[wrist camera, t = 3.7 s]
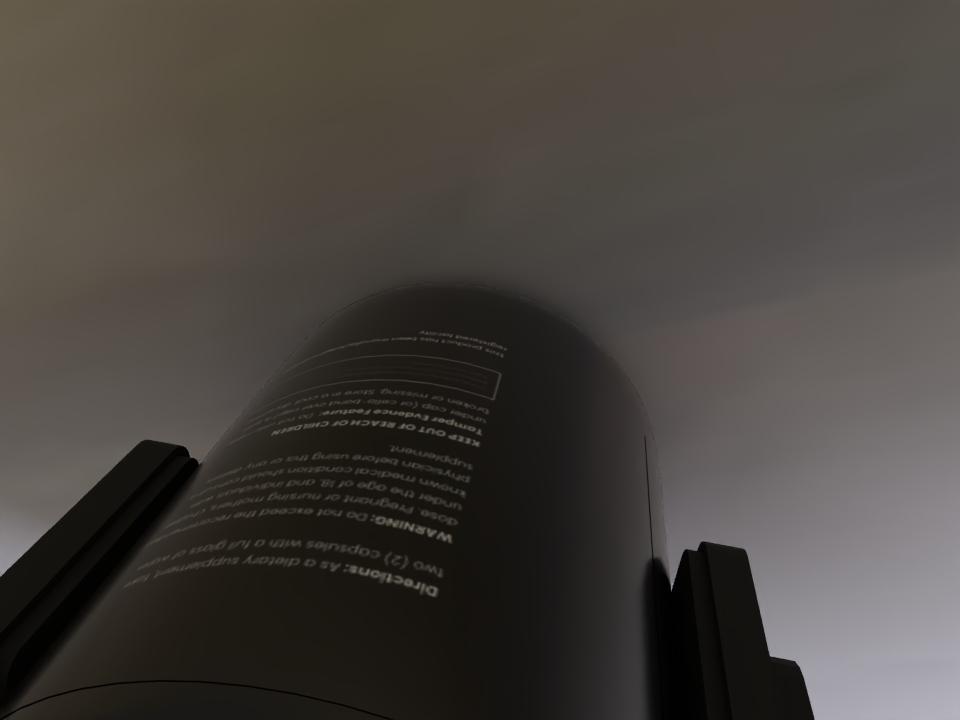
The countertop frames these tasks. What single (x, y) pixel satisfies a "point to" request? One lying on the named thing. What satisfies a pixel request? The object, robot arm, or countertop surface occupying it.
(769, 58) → the countertop surface
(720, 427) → the countertop surface
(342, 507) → the supplement bottle
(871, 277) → the countertop surface
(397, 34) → the countertop surface
